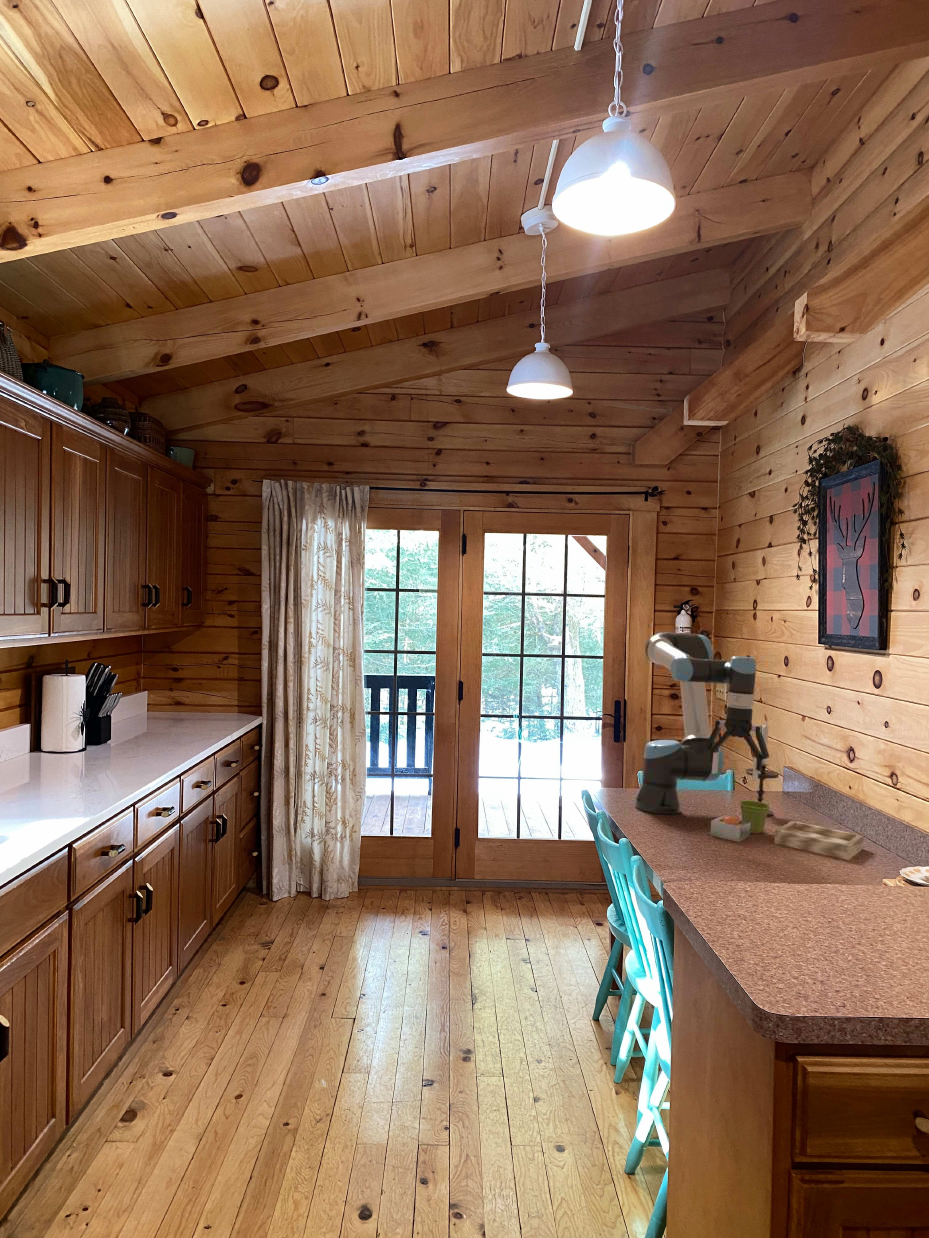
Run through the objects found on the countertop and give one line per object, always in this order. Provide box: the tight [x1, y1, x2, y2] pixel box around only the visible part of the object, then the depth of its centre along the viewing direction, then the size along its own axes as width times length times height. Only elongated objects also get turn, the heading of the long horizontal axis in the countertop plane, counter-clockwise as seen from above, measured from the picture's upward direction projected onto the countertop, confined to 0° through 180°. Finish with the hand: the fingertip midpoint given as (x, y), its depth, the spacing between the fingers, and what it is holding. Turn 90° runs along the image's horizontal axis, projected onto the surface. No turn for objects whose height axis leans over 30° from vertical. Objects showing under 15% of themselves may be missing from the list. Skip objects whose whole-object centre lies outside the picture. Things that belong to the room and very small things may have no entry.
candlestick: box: [745, 713, 780, 818], centre depth 292 cm, size 11×11×35 cm
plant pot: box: [739, 800, 771, 835], centre depth 266 cm, size 9×9×9 cm
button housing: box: [709, 815, 751, 843], centre depth 259 cm, size 9×9×4 cm
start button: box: [722, 815, 741, 825], centre depth 259 cm, size 5×5×3 cm
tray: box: [774, 820, 864, 861], centre depth 254 cm, size 21×17×4 cm
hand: (734, 776), depth 258 cm, fingers open, 12 cm apart
